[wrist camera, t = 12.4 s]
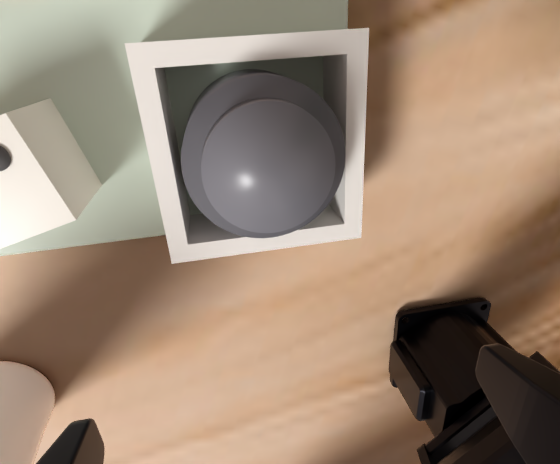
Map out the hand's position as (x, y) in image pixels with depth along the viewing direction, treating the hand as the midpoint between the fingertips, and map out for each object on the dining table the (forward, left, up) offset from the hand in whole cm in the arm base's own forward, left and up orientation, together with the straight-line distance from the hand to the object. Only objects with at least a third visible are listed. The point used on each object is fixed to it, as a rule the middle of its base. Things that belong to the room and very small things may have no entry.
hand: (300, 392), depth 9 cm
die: (+9, -3, -12) cm, 15 cm away
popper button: (0, -3, -11) cm, 12 cm away
